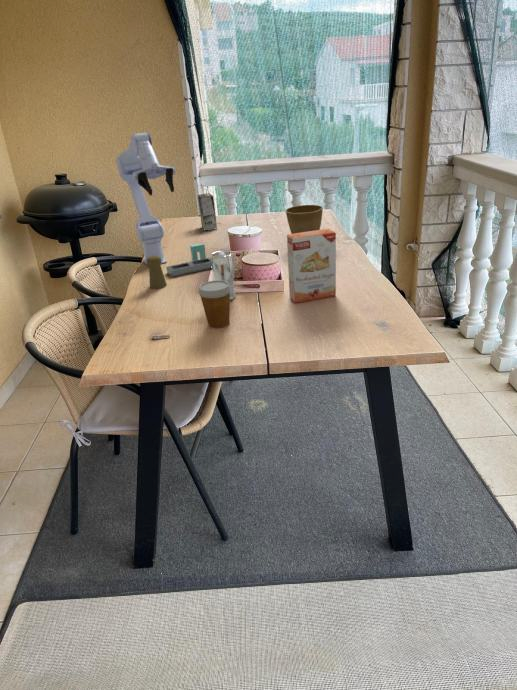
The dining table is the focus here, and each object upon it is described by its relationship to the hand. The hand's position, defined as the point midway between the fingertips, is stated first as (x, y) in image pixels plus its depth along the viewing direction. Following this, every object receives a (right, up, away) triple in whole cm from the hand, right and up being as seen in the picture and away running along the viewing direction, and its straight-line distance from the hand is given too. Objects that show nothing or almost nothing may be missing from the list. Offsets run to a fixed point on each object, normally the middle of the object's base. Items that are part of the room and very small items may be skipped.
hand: (162, 191), depth 177 cm
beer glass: (+22, -37, -5) cm, 43 cm away
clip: (+9, -19, +33) cm, 39 cm away
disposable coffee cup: (+21, -46, -23) cm, 56 cm away
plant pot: (+52, -12, +39) cm, 66 cm away
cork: (-3, -31, +11) cm, 33 cm away
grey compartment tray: (+7, -23, +24) cm, 34 cm away
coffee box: (+8, +6, +81) cm, 82 cm away
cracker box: (+50, -37, -10) cm, 63 cm away
